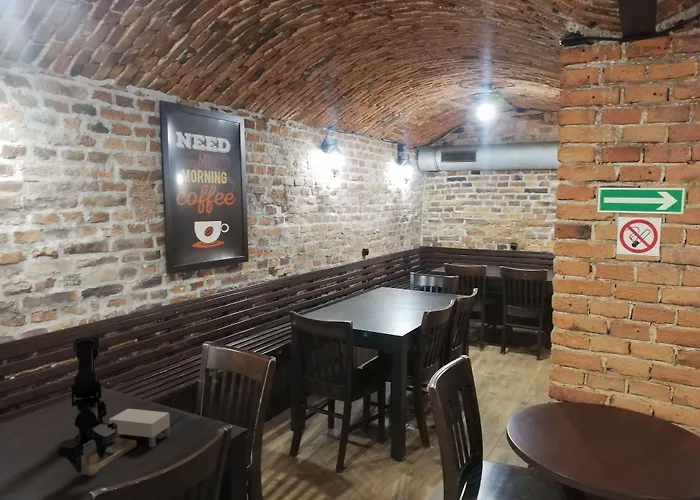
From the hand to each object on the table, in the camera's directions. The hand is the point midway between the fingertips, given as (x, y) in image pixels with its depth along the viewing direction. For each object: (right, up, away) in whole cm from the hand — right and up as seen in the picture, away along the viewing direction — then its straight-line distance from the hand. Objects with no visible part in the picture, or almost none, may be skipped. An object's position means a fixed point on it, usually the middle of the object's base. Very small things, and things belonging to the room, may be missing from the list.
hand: (90, 465), depth 161 cm
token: (+1, -2, +16) cm, 17 cm away
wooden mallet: (0, -2, +10) cm, 10 cm away
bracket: (+7, 0, +38) cm, 39 cm away
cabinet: (+6, -1, +24) cm, 25 cm away
